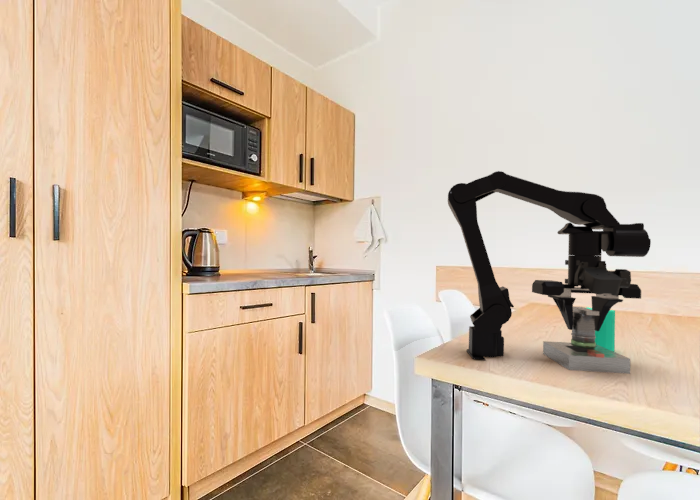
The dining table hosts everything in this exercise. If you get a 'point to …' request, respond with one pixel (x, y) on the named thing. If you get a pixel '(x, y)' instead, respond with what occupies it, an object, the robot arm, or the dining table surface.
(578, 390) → the dining table surface
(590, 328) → the column
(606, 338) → the candle
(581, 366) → the flat box
